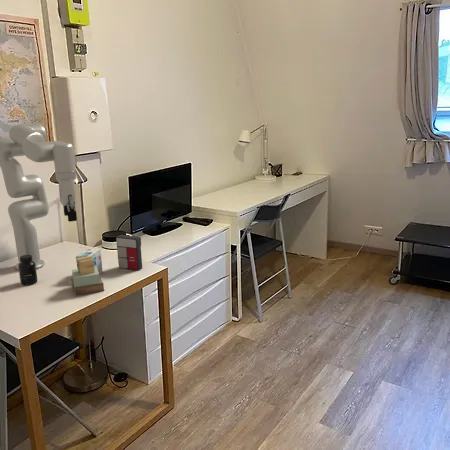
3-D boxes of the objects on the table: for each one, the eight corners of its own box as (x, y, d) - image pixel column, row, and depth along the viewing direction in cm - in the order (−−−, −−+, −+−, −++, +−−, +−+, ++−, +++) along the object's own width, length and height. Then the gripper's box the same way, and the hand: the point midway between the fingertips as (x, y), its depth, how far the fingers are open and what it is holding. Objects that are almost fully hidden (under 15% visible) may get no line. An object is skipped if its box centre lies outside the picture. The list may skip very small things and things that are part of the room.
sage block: (72, 278, 191) (71, 269, 190) (97, 274, 194) (96, 266, 193) (74, 287, 182) (73, 278, 181) (100, 283, 185) (99, 274, 184)
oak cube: (78, 270, 188) (76, 258, 187) (91, 268, 191) (90, 255, 189) (81, 275, 184) (79, 262, 182) (94, 272, 186) (93, 259, 185)
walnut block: (72, 287, 192) (71, 278, 191) (99, 282, 196) (98, 274, 195) (76, 297, 182) (75, 288, 181) (104, 292, 187) (103, 282, 186)
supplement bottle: (27, 287, 193) (23, 260, 189) (17, 284, 196) (13, 257, 193) (41, 281, 198) (37, 255, 195) (31, 278, 202) (27, 252, 199)
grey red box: (117, 268, 211) (114, 237, 207) (123, 265, 215) (120, 234, 211) (138, 271, 207) (135, 239, 203) (143, 267, 211) (140, 236, 207)
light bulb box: (92, 280, 198) (89, 256, 195) (77, 279, 199) (75, 256, 196) (103, 271, 208) (101, 248, 205) (89, 270, 209) (87, 248, 206)
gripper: (52, 172, 183) (57, 214, 188) (59, 180, 169) (64, 224, 174) (72, 171, 187) (76, 212, 192) (80, 178, 172) (84, 222, 177)
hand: (70, 218), depth 183 cm, fingers open, 9 cm apart
